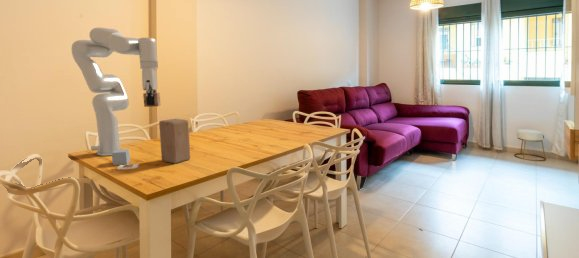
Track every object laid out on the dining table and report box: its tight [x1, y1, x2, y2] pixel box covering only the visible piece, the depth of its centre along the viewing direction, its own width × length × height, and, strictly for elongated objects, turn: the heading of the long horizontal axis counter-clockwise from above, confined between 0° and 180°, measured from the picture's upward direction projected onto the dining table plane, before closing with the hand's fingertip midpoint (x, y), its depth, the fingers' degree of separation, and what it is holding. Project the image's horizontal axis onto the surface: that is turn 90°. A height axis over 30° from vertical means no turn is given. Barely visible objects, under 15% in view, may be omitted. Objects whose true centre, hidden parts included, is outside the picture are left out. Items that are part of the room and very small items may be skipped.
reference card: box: [116, 163, 140, 170], centre depth 147 cm, size 8×5×1 cm, turn 102°
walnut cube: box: [142, 92, 161, 108], centre depth 152 cm, size 6×6×6 cm
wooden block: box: [158, 118, 191, 165], centre depth 157 cm, size 10×10×20 cm
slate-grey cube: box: [111, 148, 131, 166], centre depth 154 cm, size 6×6×6 cm
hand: (152, 104), depth 152 cm, fingers closed on walnut cube, 6 cm apart
